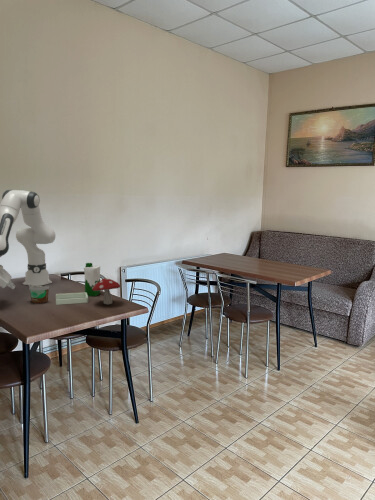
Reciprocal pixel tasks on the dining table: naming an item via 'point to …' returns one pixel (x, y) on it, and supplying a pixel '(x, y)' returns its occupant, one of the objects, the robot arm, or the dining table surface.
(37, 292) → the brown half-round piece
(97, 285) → the decorative mushroom
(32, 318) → the dining table surface
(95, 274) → the milk carton
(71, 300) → the pale green u-shaped frame
